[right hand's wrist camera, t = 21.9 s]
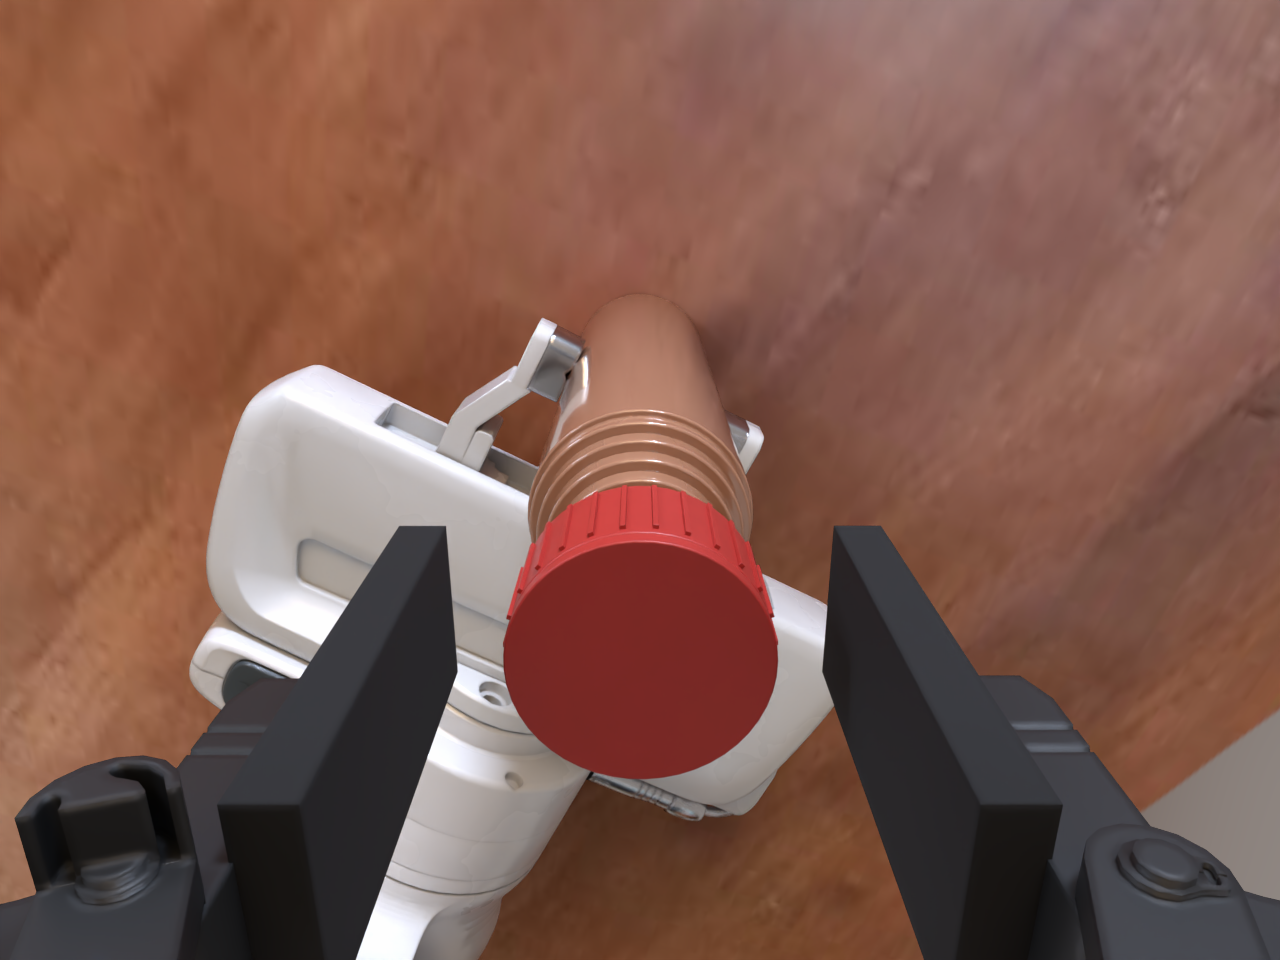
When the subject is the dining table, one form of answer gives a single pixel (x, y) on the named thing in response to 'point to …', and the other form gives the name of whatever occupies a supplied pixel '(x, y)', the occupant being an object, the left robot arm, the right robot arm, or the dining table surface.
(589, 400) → the bottle
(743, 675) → the cap
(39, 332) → the dining table surface
